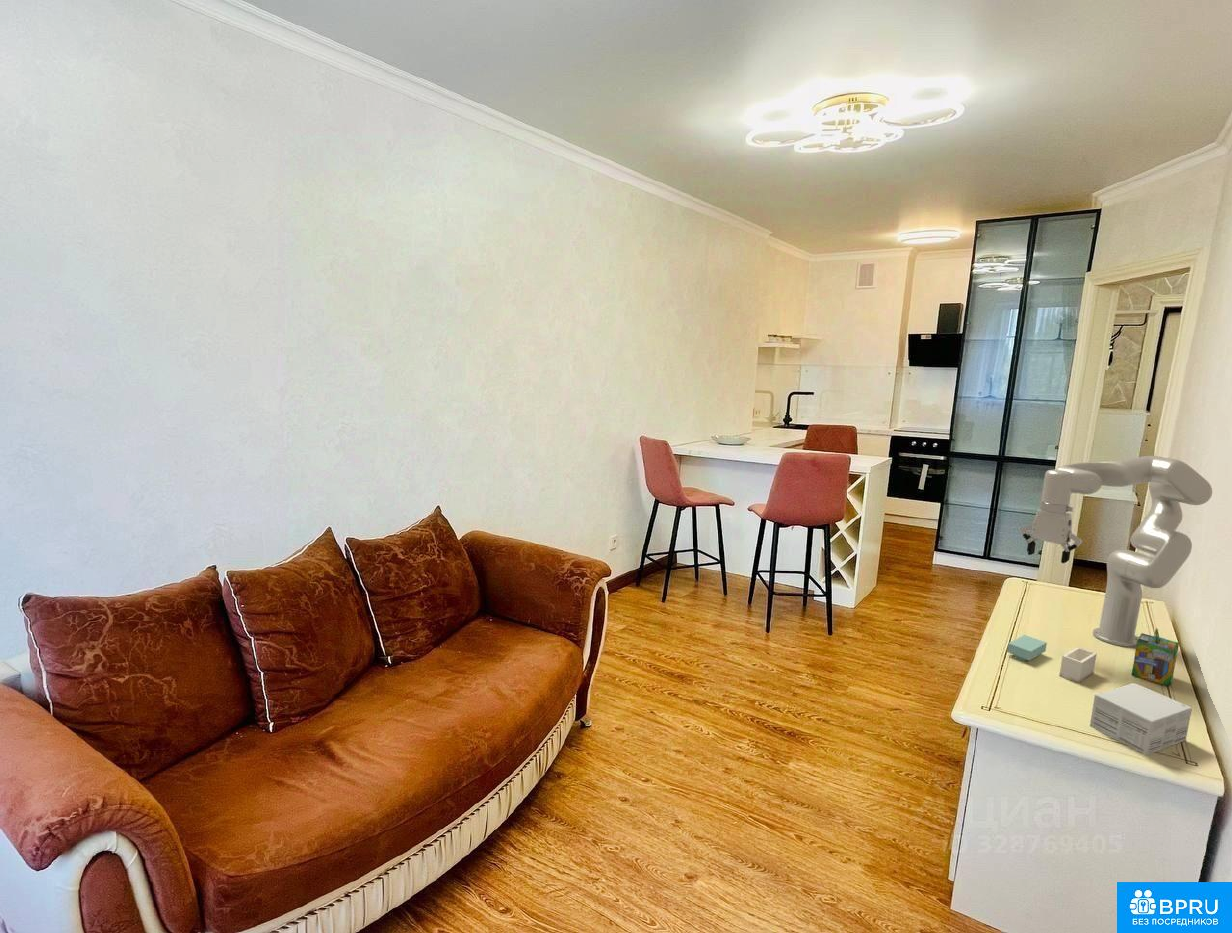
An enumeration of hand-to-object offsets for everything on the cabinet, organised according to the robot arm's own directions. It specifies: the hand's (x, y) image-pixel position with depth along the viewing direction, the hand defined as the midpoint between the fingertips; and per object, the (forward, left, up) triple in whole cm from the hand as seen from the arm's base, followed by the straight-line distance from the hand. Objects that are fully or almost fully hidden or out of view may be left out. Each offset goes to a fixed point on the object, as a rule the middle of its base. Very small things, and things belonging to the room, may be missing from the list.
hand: (1047, 558), depth 203 cm
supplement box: (+35, +38, -30) cm, 60 cm away
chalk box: (-6, +30, -30) cm, 43 cm away
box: (+13, +17, -30) cm, 37 cm away
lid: (+13, +3, -29) cm, 31 cm away
